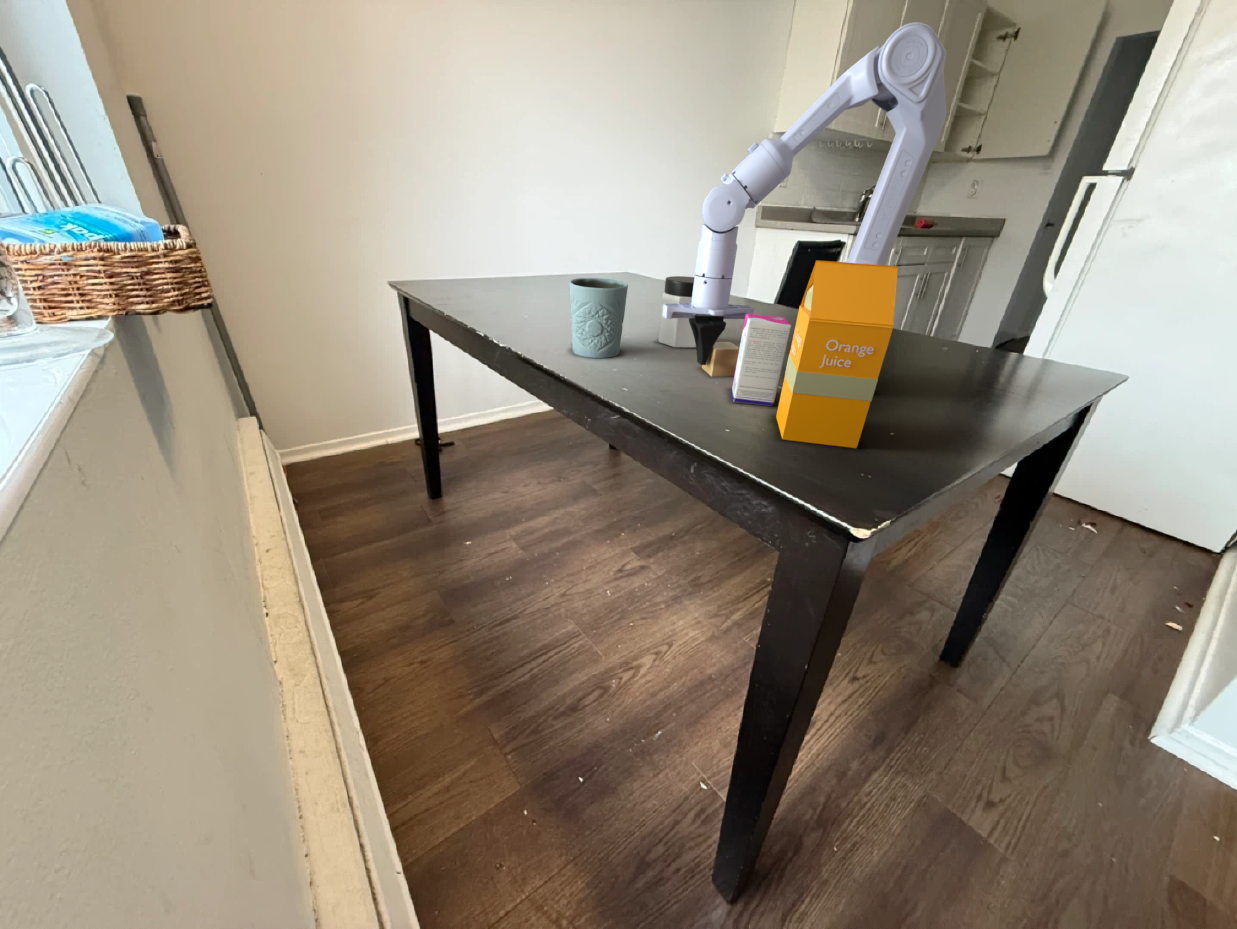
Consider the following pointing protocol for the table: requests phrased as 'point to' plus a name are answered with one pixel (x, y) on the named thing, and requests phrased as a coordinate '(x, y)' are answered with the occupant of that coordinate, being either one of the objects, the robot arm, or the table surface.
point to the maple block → (722, 360)
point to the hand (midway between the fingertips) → (701, 363)
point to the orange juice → (837, 352)
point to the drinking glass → (597, 316)
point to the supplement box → (760, 359)
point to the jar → (677, 329)
